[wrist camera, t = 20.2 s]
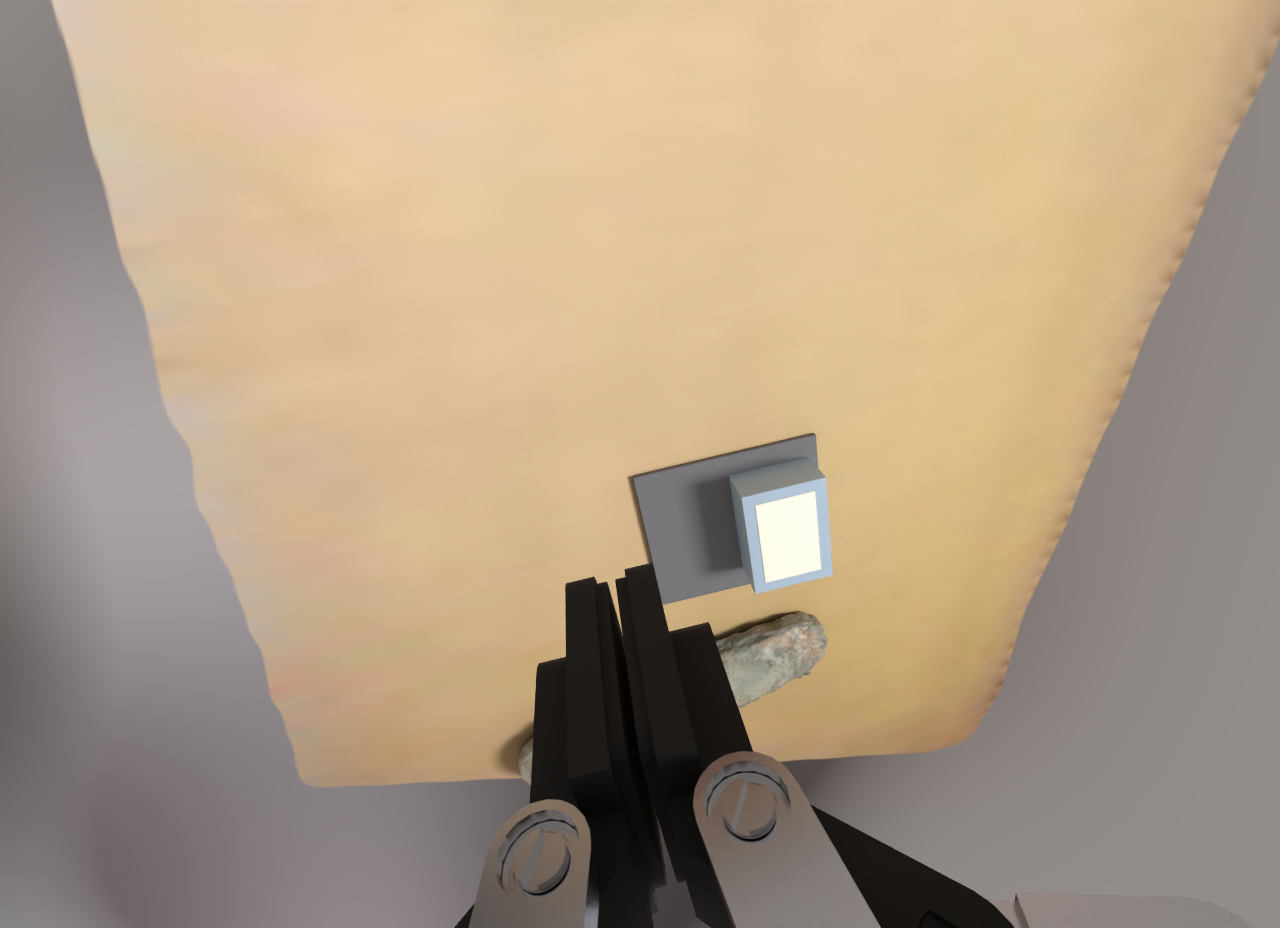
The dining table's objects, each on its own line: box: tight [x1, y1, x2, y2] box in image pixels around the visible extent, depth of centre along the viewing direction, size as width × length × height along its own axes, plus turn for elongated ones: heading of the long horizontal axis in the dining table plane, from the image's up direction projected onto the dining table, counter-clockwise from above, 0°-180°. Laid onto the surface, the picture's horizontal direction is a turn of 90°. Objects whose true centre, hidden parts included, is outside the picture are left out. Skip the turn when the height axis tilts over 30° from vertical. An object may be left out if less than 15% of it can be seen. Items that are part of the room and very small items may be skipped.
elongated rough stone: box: [518, 612, 828, 785], centre depth 59 cm, size 35×5×10 cm
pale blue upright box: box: [729, 457, 833, 594], centre depth 50 cm, size 10×4×7 cm
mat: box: [633, 433, 818, 605], centre depth 52 cm, size 14×16×1 cm
